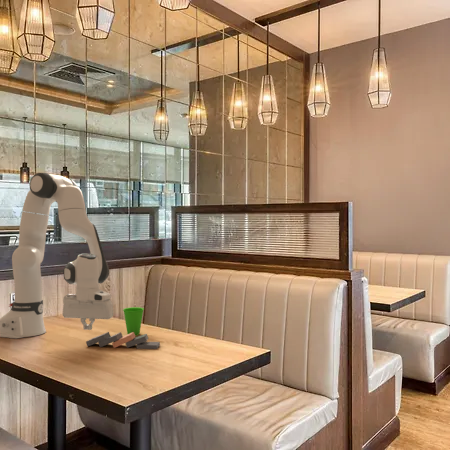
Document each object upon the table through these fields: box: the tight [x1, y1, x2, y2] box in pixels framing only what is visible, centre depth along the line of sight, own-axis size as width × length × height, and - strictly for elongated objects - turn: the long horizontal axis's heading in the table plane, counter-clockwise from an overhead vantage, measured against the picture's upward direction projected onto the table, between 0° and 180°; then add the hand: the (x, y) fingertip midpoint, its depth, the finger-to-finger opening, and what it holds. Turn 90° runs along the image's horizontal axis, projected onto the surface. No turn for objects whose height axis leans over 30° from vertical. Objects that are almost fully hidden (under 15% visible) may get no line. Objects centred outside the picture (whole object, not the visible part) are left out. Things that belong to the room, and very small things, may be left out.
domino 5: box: [136, 341, 161, 350], centre depth 178 cm, size 2×5×8 cm
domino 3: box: [111, 332, 137, 349], centre depth 179 cm, size 2×5×8 cm
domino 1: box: [85, 331, 112, 347], centre depth 181 cm, size 2×5×8 cm
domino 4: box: [125, 333, 149, 348], centre depth 179 cm, size 2×5×8 cm
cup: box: [122, 306, 145, 337], centre depth 198 cm, size 9×9×11 cm
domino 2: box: [98, 331, 123, 348], centre depth 179 cm, size 2×5×8 cm
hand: (87, 329), depth 181 cm, fingers closed
